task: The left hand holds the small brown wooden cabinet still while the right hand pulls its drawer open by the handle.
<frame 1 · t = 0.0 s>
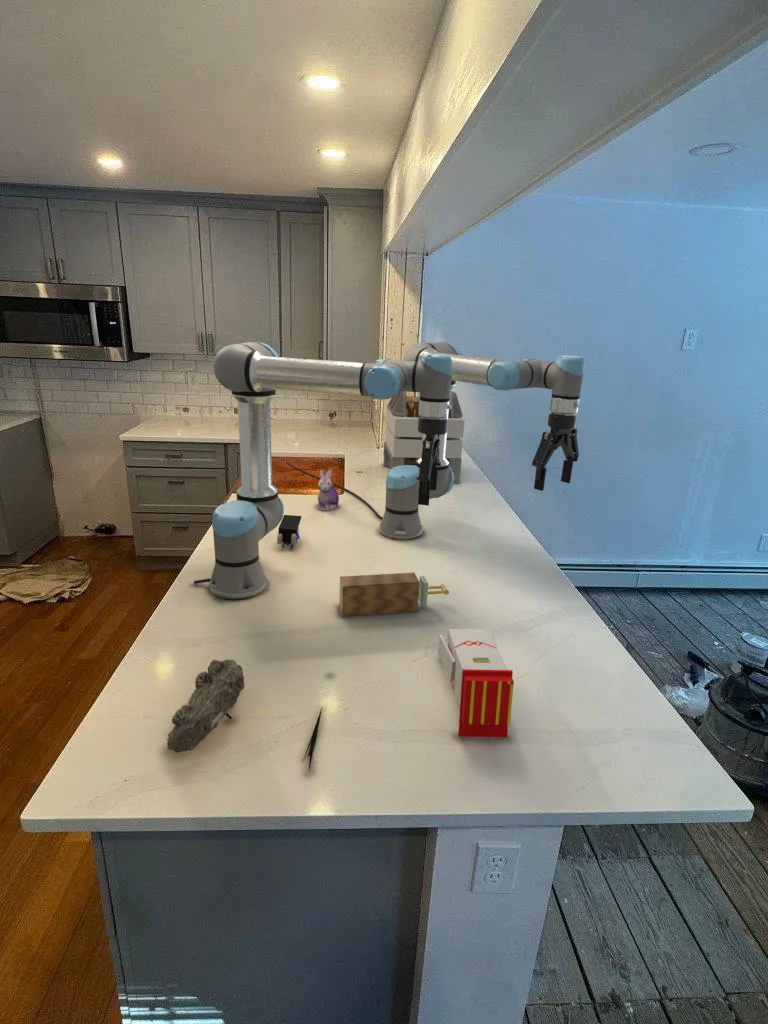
left hand: (427, 496, 151), 28 cm above the counter, tool pointing down, fingers open, 13 cm apart
right hand: (552, 485, 166), 28 cm above the counter, tool pointing down, fingers open, 13 cm apart
figurine: (327, 507, 223), on the counter
transformer: (419, 473, 275), on the counter
cabinet: (378, 608, 150), on the counter
toy: (469, 691, 119), on the counter
figurine character: (289, 543, 188), on the counter
feather: (319, 719, 109), on the counter
drawer: (401, 592, 150), point 4 cm above the counter, slide at 1.4 cm
fossil: (212, 717, 108), on the counter
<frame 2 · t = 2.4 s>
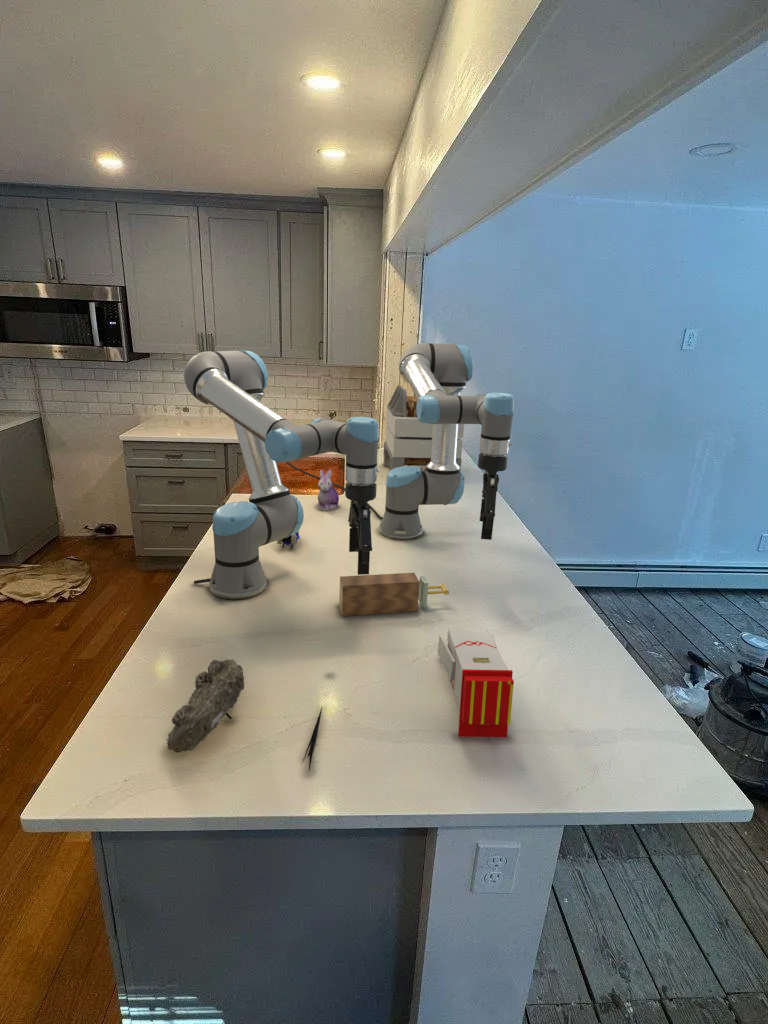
left hand: (358, 562, 144), 14 cm above the counter, tool pointing down, fingers open, 13 cm apart
right hand: (485, 529, 155), 19 cm above the counter, tool pointing down, fingers open, 13 cm apart
nothing on the counter moved.
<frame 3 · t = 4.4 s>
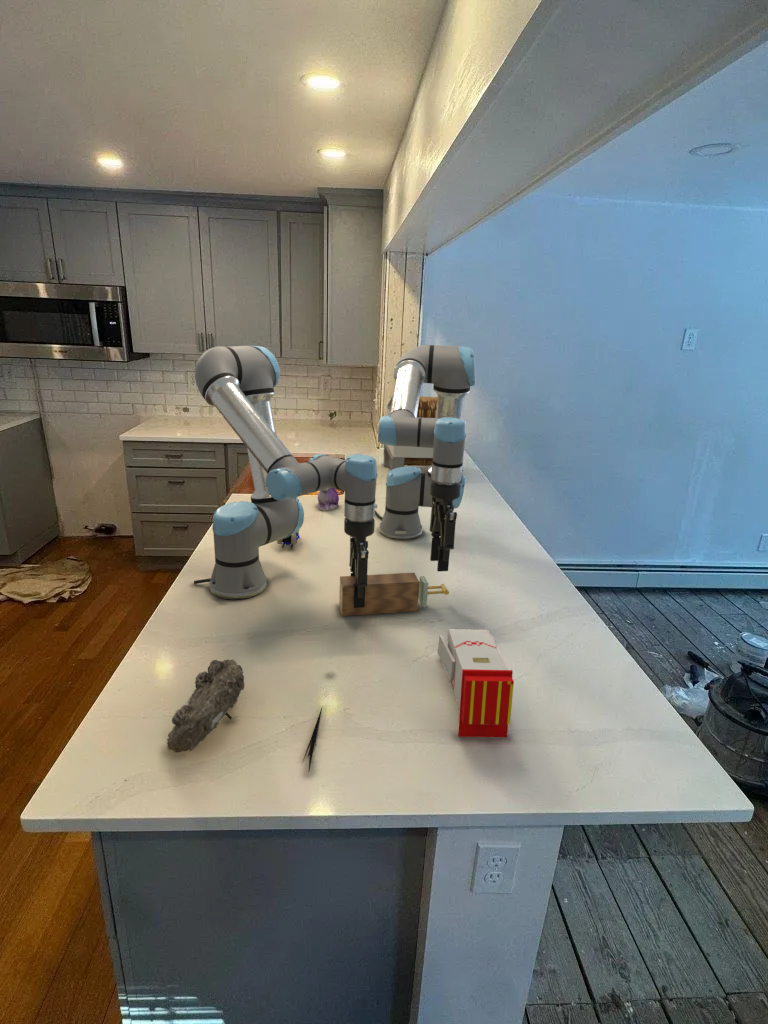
left hand: (357, 600, 148), 3 cm above the counter, tool pointing down, fingers closed on cabinet, 5 cm apart
right hand: (438, 565, 149), 12 cm above the counter, tool pointing down, fingers open, 6 cm apart
cabinet: (378, 608, 150), on the counter, touching left hand
everything else where it was.
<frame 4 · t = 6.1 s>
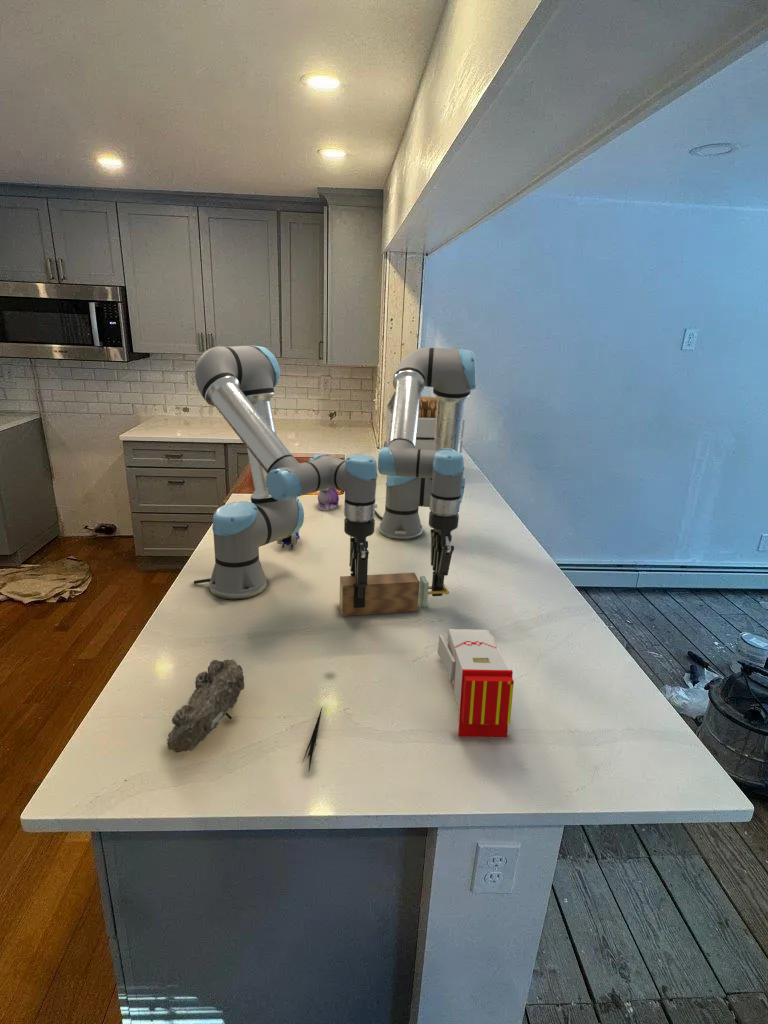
left hand: (357, 600, 148), 3 cm above the counter, tool pointing down, fingers closed on cabinet, 5 cm apart
right hand: (436, 594, 152), 3 cm above the counter, tool pointing down, fingers closed
cabinet: (378, 608, 150), on the counter, touching left hand
drawer: (401, 592, 150), point 4 cm above the counter, slide at 1.5 cm, touching right hand
everything else where it was.
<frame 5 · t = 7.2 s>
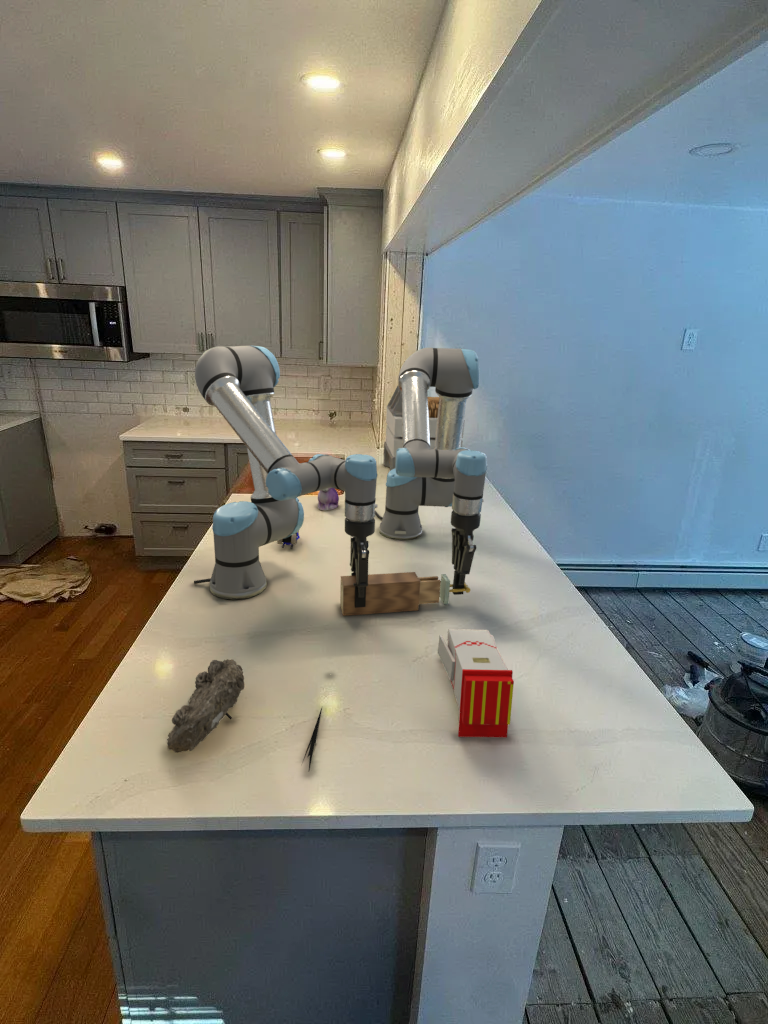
left hand: (358, 600, 148), 3 cm above the counter, tool pointing down, fingers closed on cabinet, 5 cm apart
right hand: (457, 593, 153), 3 cm above the counter, tool pointing down, fingers closed
cabinet: (379, 607, 150), on the counter, touching left hand
drawer: (423, 590, 151), point 4 cm above the counter, slide at 7.2 cm, touching right hand
everything else where it was.
when the left hand's fingers open (3 cm above the counter, at t = 8.5 s): cabinet stays where it is, on the counter.
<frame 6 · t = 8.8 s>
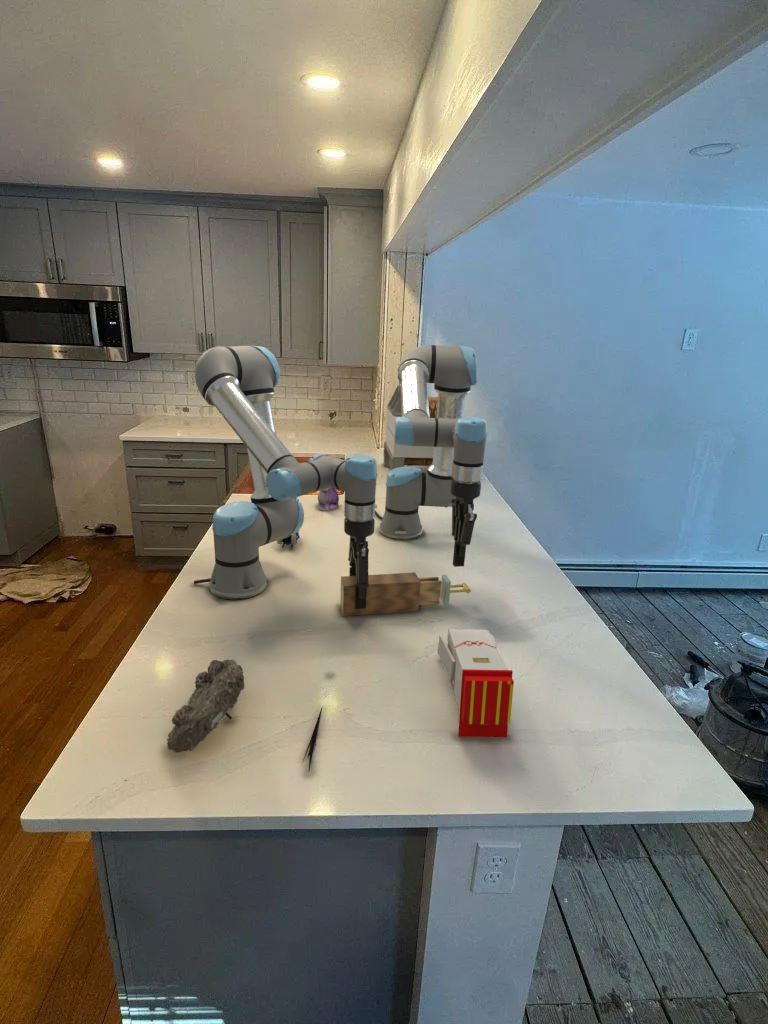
left hand: (357, 598, 148), 3 cm above the counter, tool pointing down, fingers open, 9 cm apart
right hand: (458, 565, 150), 11 cm above the counter, tool pointing down, fingers closed
cabinet: (379, 608, 150), on the counter
drawer: (424, 591, 151), point 4 cm above the counter, slide at 7.3 cm
everything else where it was.
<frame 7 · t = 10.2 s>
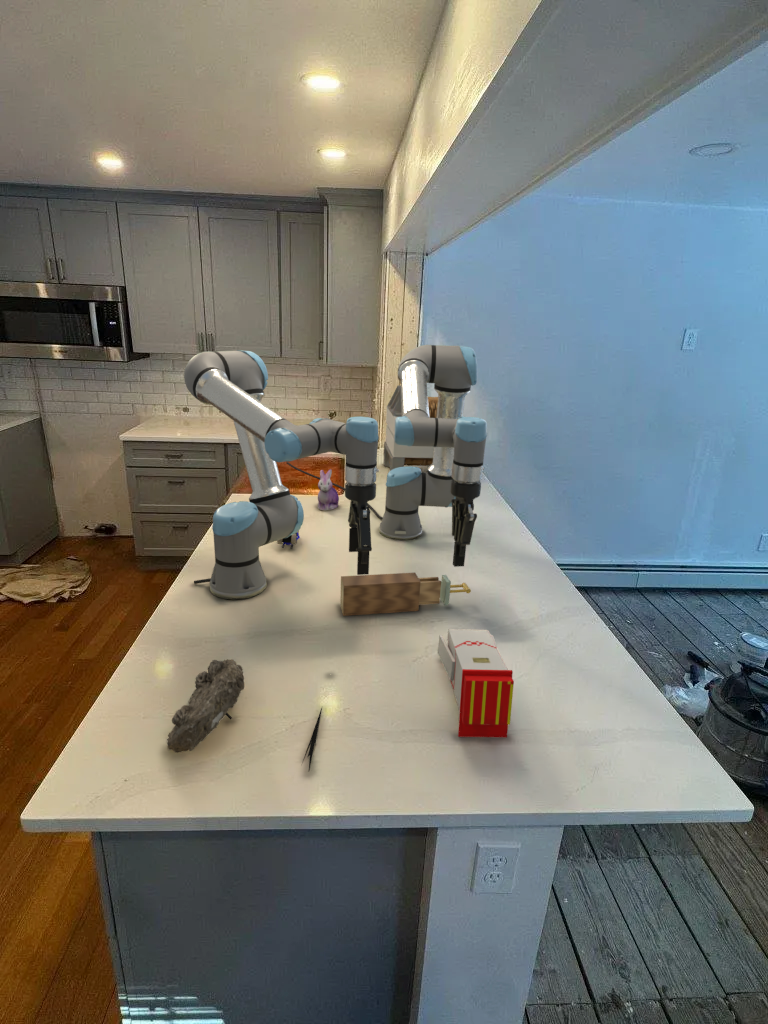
left hand: (358, 562, 144), 14 cm above the counter, tool pointing down, fingers open, 13 cm apart
right hand: (458, 565, 150), 11 cm above the counter, tool pointing down, fingers closed
nothing on the counter moved.
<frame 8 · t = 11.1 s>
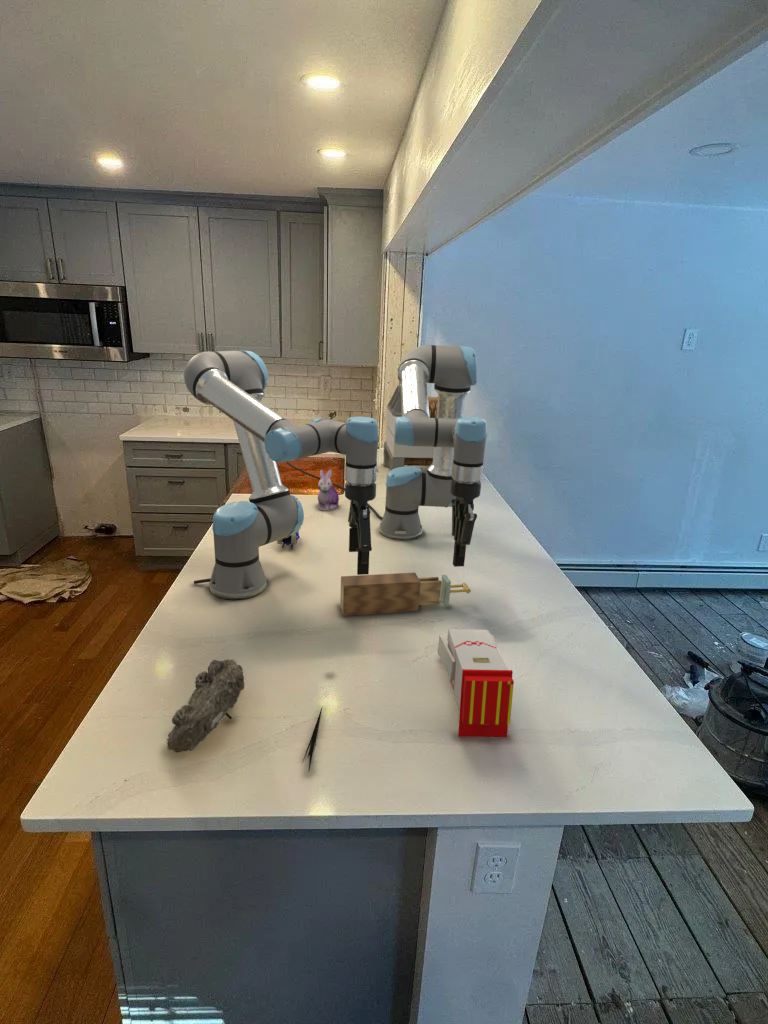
left hand: (358, 562, 144), 14 cm above the counter, tool pointing down, fingers open, 13 cm apart
right hand: (458, 565, 150), 11 cm above the counter, tool pointing down, fingers closed
nothing on the counter moved.
at the end: drawer slide at 7.3 cm; cabinet tilted 0°; cabinet never tilted more than 2° during the clip; cabinet moved 0.3 cm from its start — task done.
